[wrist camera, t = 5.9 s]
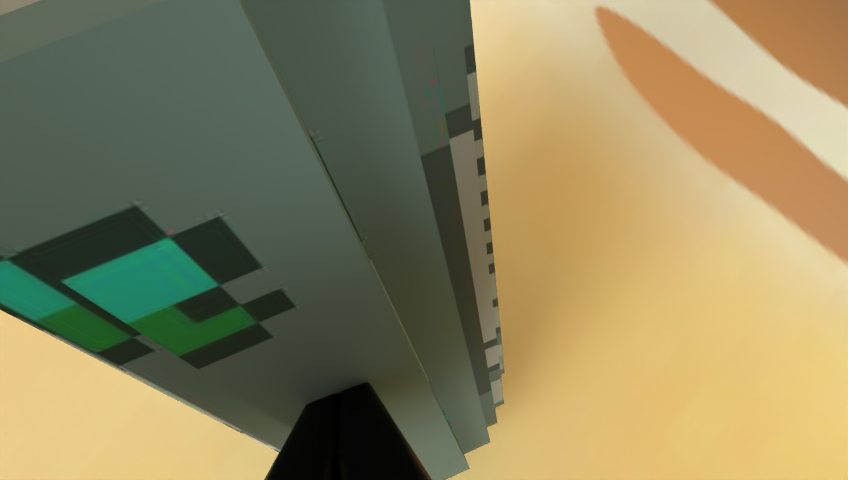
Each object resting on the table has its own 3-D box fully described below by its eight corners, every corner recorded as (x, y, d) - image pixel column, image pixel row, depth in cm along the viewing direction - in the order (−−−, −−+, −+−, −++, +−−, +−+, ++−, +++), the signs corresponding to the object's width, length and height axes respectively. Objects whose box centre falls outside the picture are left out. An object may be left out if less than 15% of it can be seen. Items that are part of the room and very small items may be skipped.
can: (279, 336, 18) (-265, -200, 6) (451, 263, 19) (300, -387, 6) (332, 531, 15) (-629, 300, 3) (536, 437, 16) (592, -163, 3)
